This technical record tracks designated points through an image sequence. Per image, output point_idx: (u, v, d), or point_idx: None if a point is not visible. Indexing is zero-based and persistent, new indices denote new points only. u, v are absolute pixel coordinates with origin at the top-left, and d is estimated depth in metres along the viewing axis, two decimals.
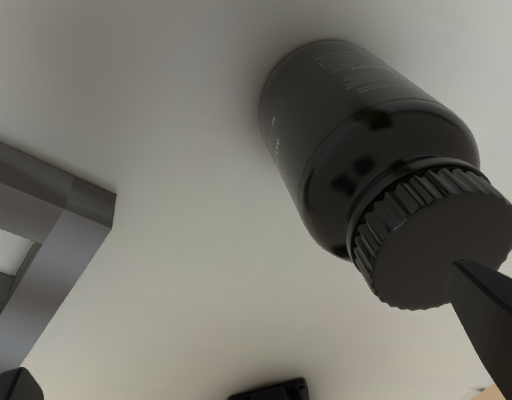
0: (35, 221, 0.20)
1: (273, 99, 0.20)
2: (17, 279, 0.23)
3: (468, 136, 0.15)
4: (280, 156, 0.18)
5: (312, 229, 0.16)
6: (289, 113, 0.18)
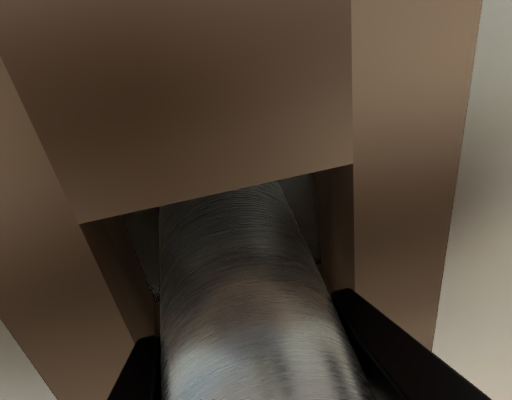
0: None
1: None
2: None
3: None
4: None
5: None
6: None
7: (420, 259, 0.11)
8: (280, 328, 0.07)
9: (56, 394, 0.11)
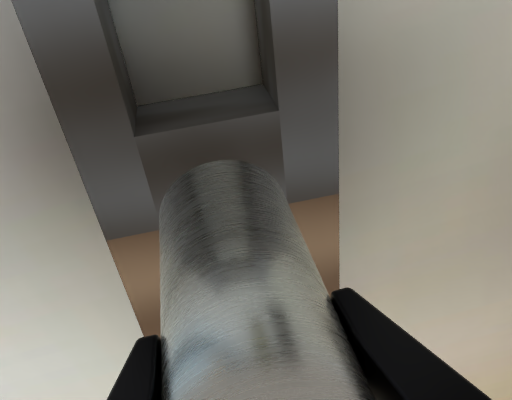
0: None
1: None
2: (267, 59, 0.17)
3: None
4: None
5: None
6: None
7: None
8: (280, 330, 0.07)
9: None
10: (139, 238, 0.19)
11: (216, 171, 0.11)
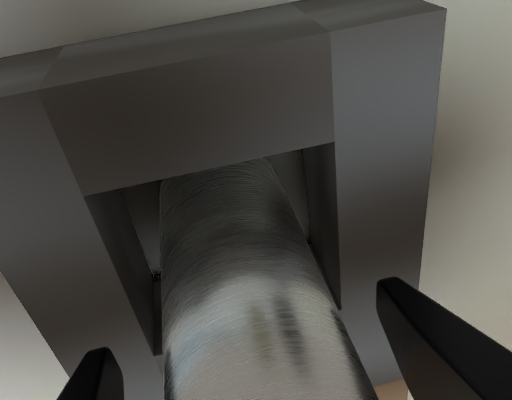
0: (295, 102, 0.09)
1: None
2: (324, 239, 0.13)
3: None
4: None
5: None
6: None
7: None
8: (269, 284, 0.08)
9: None
10: None
11: None
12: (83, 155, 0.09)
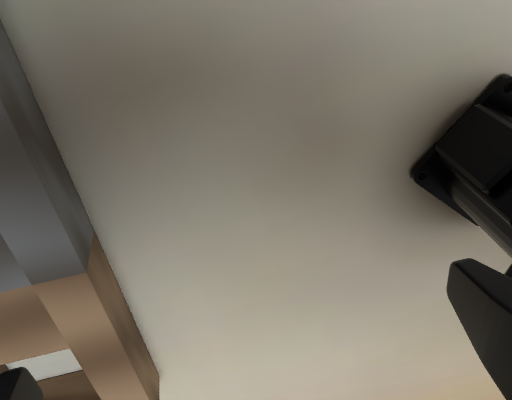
0: None
1: None
2: None
3: None
4: None
5: None
6: None
7: (124, 377, 0.23)
8: None
9: None
10: None
11: None
12: None
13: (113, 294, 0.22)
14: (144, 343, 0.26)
